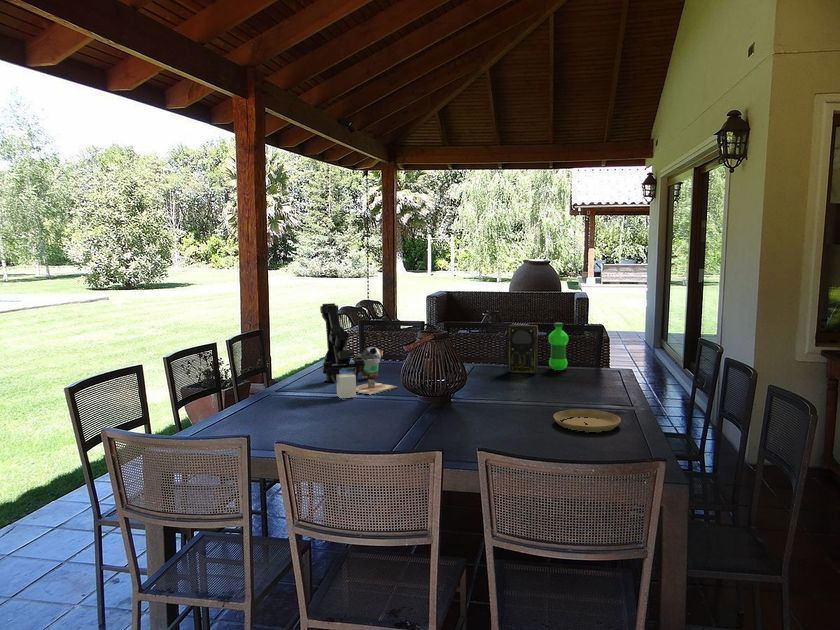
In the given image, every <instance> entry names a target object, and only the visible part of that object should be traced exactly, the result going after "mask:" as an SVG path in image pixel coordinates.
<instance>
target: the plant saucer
mask: <svg viewBox="0 0 840 630" xmlns="http://www.w3.org/2000/svg"><path fill="white" fill-rule="evenodd" d="M570 417H574V418H572V419H567V418H570ZM578 417H580V418H578ZM584 417H588V418H584ZM553 418H554V421H555V422H556V423H557V424H558V425H559V426H561V428H564V429H566V428H568V429H567V430H569V429H571V430H570V431H572V430H577V431H576V432H578V431H585V432H584V433H589V432H596V433H603V432H602V431H605V432H608V431H612V430H614V429H615V428H616V427H618V426H619V424H620V423H621V421H622V419H621V417H619V416H618V414H617V415H616V414H614V413H611V412H607V411H603V410H598V409H597V410H595V409H567V410H561V411H557V412H556V413H554V414H553ZM597 418H598V419H597ZM563 419H567V420H564V421H563V422H561V421H560V420H563ZM584 422H585V423H587V424H588V425H585V423H584Z"/></svg>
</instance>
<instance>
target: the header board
mask: <svg viewBox="0 0 840 630" xmlns="http://www.w3.org/2000/svg"><path fill="white" fill-rule="evenodd" d="M394 388H397V389H398V386H397V385H392V384H384V383H380V382H376V381H375V380H374V379H367V383H363V384H361V385H356V392H358V393H357V394H359V393H363V394H362V395H364V394H369V395H371V394H375V395H377V394H376V393H379V394H381V393H380V392H383V391H386V392H388V391H387V390H390V391H392V390H391V389H394ZM394 390H395V389H394ZM383 393H384V392H383ZM369 395H368V396H369ZM371 396H372V395H371Z"/></svg>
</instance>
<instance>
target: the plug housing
mask: <svg viewBox="0 0 840 630" xmlns="http://www.w3.org/2000/svg"><path fill="white" fill-rule="evenodd" d="M336 380H337V383H335V384H336V397H337V396H338V397H339V398H351V397H356V398H357V393H356V386H357V382H356V376H355V373H353V372H349V373H340V374H336ZM338 397H337V398H338ZM339 398H338V399H339Z"/></svg>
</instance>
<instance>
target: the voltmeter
mask: <svg viewBox="0 0 840 630" xmlns="http://www.w3.org/2000/svg"><path fill="white" fill-rule="evenodd" d="M538 336H539V326H538V325H536V324H509V325H508V326H507V373H508V372H511V373H510V374H523V373H530V374H531V375H536V374H538V373H537V372H538V350H539V349H538V340H539V339H538ZM530 374H529V375H530Z"/></svg>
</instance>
